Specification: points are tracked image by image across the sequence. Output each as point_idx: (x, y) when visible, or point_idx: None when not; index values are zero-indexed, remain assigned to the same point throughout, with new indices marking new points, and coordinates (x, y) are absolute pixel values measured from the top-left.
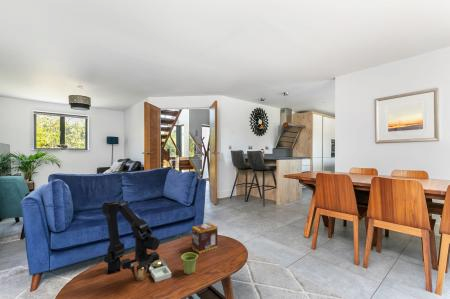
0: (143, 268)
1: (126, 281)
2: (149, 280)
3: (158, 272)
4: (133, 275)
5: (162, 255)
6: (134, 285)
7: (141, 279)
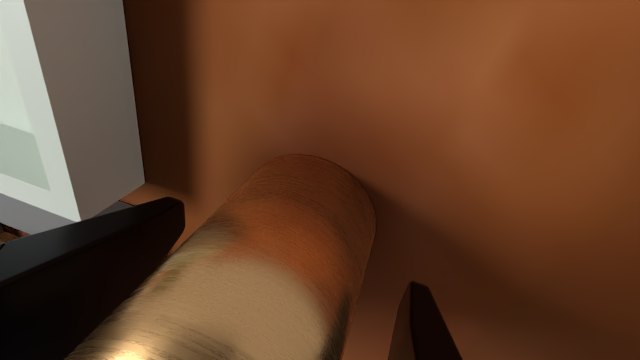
0: (103, 339)
1: (524, 328)
2: (199, 32)
3: (30, 130)
4: (451, 342)
5: None
6: (525, 101)
7: (312, 166)
